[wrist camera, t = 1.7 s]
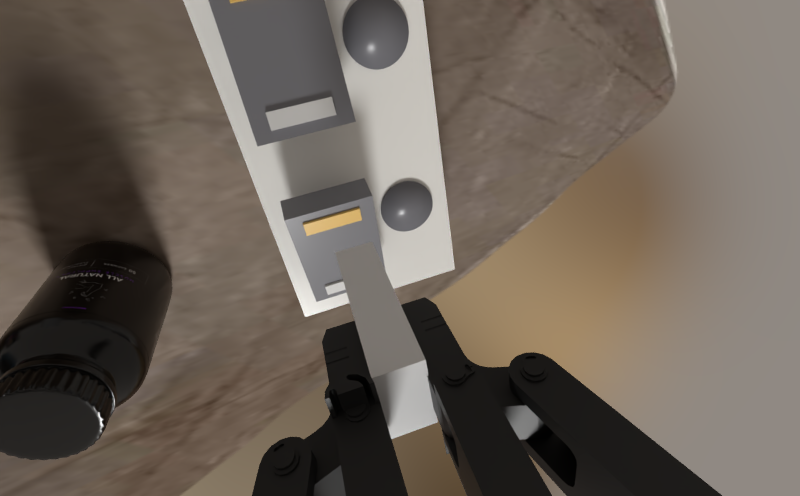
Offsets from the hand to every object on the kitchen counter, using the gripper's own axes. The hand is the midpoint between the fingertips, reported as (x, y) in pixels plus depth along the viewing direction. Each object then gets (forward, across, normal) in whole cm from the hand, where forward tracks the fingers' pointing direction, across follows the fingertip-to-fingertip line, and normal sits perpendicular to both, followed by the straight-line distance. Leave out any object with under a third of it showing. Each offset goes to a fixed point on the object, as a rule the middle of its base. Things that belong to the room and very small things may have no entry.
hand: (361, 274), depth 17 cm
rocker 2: (+8, 0, -2) cm, 8 cm away
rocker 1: (+8, 0, +8) cm, 11 cm away
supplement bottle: (+14, -16, -4) cm, 22 cm away
